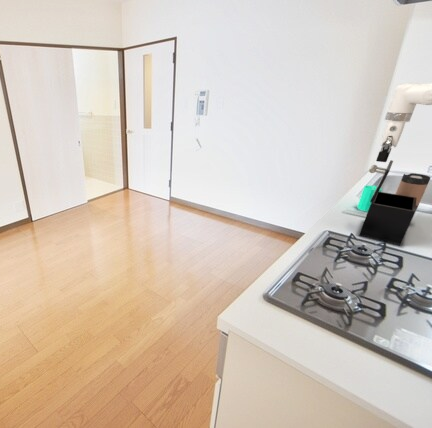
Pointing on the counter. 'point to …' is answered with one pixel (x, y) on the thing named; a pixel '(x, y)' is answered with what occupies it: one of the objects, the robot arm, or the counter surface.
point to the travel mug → (413, 186)
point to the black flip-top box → (389, 218)
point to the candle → (366, 197)
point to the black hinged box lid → (373, 169)
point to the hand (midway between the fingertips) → (382, 159)
